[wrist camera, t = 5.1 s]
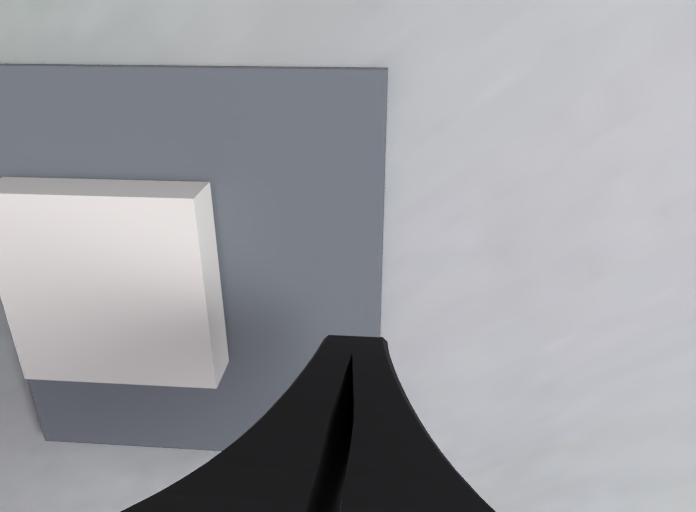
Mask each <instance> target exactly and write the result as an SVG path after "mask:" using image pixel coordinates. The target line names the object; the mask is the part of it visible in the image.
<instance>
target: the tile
mask: <svg viewBox="0 0 696 512" xmlns="http://www.w3.org/2000/svg"><path fill="white" fill-rule="evenodd" d="M0 297H1V301H2V304H3V307H4V311H5V314H6V317H7V321H8V324H9V328H10V331H11V334H12V338H13V341H14V344H15V348H16V351H17V355H18V358H19V361H20V365H21V368H22V371H23V375H24V378H25V379H35V380H55V381H74V382H94V383H114V384H133V385H153V386H172V387H192V388H212V389H217V387H218V385H219V382H220V380H221V378H222V376H223V373H224V371H225V369H226V367H227V365H228V362H229V356H228V346H227V337H226V328H225V318H224V309H223V300H222V290H221V281H220V272H219V262H218V253H217V243H216V234H215V225H214V215H213V206H212V197H211V187H210V182H195V181H155V180H115V179H75V178H34V177H1V178H0Z"/></svg>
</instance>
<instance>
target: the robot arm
mask: <svg viewBox="0 0 696 512" xmlns="http://www.w3.org/2000/svg"><path fill="white" fill-rule="evenodd" d="M340 507H341V508H340ZM121 512H495V511H494V510H493V509H492V508H491V507H490V506H489V505H488V504H487V503H486V502H485V501H484V500H483V499H482V498H481V497H480V496H479V495H478V494H477V493H476V492H475V491H474V489H473V488H472V487H471V486H470V485H469V484H468V483H467V482H466V481H465V480H464V478H463V477H462V476H461V475H460V474H459V473H458V472H457V471H456V470H455V469H454V467H453V466H452V465H451V464H450V462H449V461H448V460H447V458H446V457H445V456H444V455H443V453H442V452H441V451H440V449H439V448H438V447H437V445H436V444H435V442H434V441H433V440H432V438H431V437H430V435H429V434H428V432H427V431H426V429H425V428H424V426H423V424H422V423H421V421H420V420H419V418H418V416H417V414H416V413H415V411H414V409H413V407H412V406H411V404H410V402H409V400H408V398H407V396H406V394H405V392H404V390H403V388H402V386H401V383H400V381H399V379H398V377H397V374H396V372H395V369H394V367H393V364H392V361H391V358H390V354H389V350H388V345H387V341H386V340H385V339H384V338H383V337H365V336H343V335H328V336H327V337H326V338H324V339H323V341H322V343H321V345H320V346H319V348H318V349H317V351H316V352H315V354H314V355H313V357H312V358H311V360H310V361H309V363H308V364H307V365H306V367H305V368H304V369H303V371H302V372H301V373H300V374H299V376H298V377H297V378H296V379H295V381H294V382H293V383H292V384H291V386H290V387H289V388H288V389H287V390H286V392H285V393H284V394H283V395H282V396H281V397H280V398H279V399H278V400H277V401H276V403H275V404H274V405H273V406H272V407H271V408H270V409H269V410H268V411H267V412H266V413H265V414H264V415H263V416H262V417H261V418H260V419H259V420H258V421H257V422H256V423H255V424H254V425H253V426H252V427H251V428H249V429H248V430H247V431H246V432H245V433H244V434H243V435H242V436H240V437H239V438H238V439H237V440H236V441H234V442H233V443H232V444H231V445H229V446H228V447H227V448H226V449H224V450H223V451H222V452H221V453H219V454H218V455H217V456H215V457H214V458H213V459H211V460H210V461H209V462H207V463H206V464H204V465H203V466H201V467H200V468H198V469H197V470H195V471H194V472H192V473H190V474H189V475H187V476H186V477H184V478H182V479H181V480H179V481H177V482H176V483H174V484H172V485H171V486H169V487H167V488H165V489H164V490H162V491H160V492H158V493H156V494H154V495H153V496H151V497H149V498H147V499H145V500H143V501H141V502H139V503H137V504H135V505H133V506H131V507H129V508H127V509H125V510H123V511H121Z"/></svg>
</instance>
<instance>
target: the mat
mask: <svg viewBox="0 0 696 512" xmlns="http://www.w3.org/2000/svg"><path fill="white" fill-rule="evenodd" d="M387 82H388V68H357V67H261V66H164V65H68V64H0V178H1V177H34V178H75V179H115V180H155V181H195V182H210V187H211V197H212V206H213V215H214V225H215V234H216V243H217V253H218V262H219V272H220V281H221V290H222V300H223V309H224V318H225V328H226V337H227V346H228V356H229V362H228V365H227V367H226V369H225V371H224V373H223V376H222V378H221V380H220V382H219V385H218V387H217V389H212V388H192V387H172V386H153V385H133V384H114V383H94V382H74V381H55V380H35V379H27V380H28V384H29V387H30V390H31V394H32V397H33V401H34V404H35V407H36V411H37V414H38V418H39V421H40V424H41V428H42V431H43V435H44V438H45V441H60V442H77V443H94V444H111V445H128V446H145V447H162V448H179V449H196V450H213V451H223V450H224V449H226V448H227V447H228V446H229V445H231V444H232V443H233V442H234V441H236V440H237V439H238V438H239V437H240V436H242V435H243V434H244V433H245V432H246V431H247V430H248V429H249V428H251V427H252V426H253V425H254V424H255V423H256V422H257V421H258V420H259V419H260V418H261V417H262V416H263V415H264V414H265V413H266V412H267V411H268V410H269V409H270V408H271V407H272V406H273V405H274V404H275V403H276V401H277V400H278V399H279V398H280V397H281V396H282V395H283V394H284V393H285V392H286V390H287V389H288V388H289V387H290V386H291V384H292V383H293V382H294V381H295V379H296V378H297V377H298V376H299V374H300V373H301V372H302V371H303V369H304V368H305V367H306V365H307V364H308V363H309V361H310V360H311V358H312V357H313V355H314V354H315V352H316V351H317V349H318V348H319V346H320V345H321V343H322V341H323V339H324V338H326V337H327V336H328V335H343V336H365V337H380V323H381V288H382V254H383V219H384V185H385V150H386V116H387Z"/></svg>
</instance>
